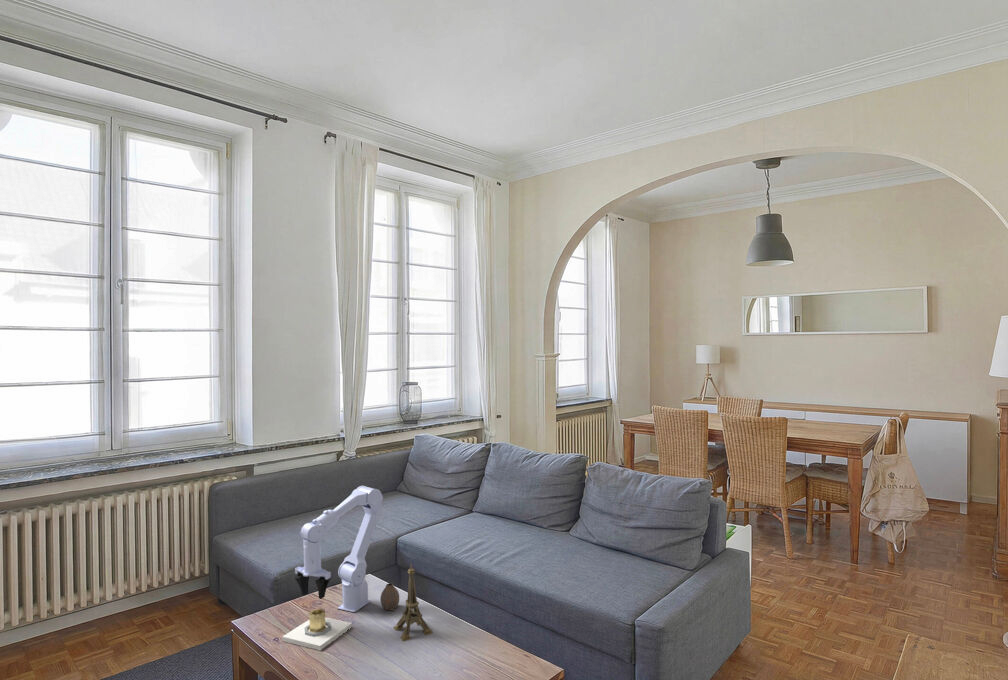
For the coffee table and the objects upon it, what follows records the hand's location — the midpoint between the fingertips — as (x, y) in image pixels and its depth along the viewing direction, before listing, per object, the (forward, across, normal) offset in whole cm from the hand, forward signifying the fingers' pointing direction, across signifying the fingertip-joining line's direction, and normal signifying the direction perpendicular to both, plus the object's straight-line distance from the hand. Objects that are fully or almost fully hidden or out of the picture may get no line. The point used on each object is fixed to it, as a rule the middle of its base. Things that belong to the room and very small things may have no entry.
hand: (313, 596), depth 209 cm
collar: (+8, +7, -6) cm, 12 cm away
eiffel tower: (+10, +36, +8) cm, 38 cm away
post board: (+9, +7, -6) cm, 13 cm away
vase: (+10, +19, +19) cm, 29 cm away
